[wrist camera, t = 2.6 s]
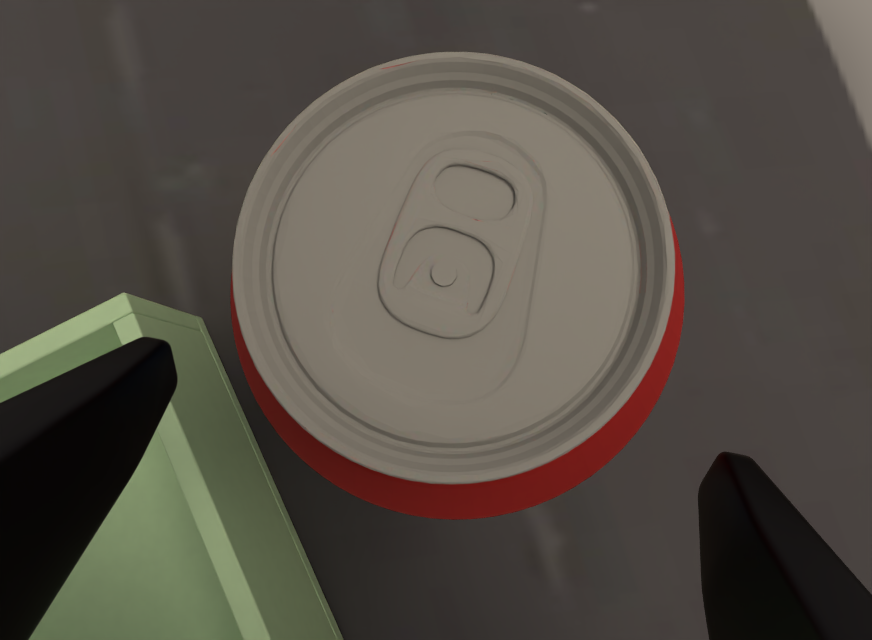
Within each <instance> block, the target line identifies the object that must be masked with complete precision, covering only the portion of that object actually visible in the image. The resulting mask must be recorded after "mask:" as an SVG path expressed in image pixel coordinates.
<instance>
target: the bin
mask: <svg viewBox="0 0 872 640" xmlns="http://www.w3.org/2000/svg"><path fill="white" fill-rule="evenodd" d="M140 337H152V338H157V339H162V340H165V341H167V342H168V343H169V344H170V346H171V349H172V353H173V358H174V362H175V366H176V371H177V375H178V382H177V387H176V390H175V392H174V394H173V396H172V398H171V400H170V402H169V404H168V406H167V409H166V411H165V413H164V415H163V417H162V419H161V421H160V423H159V425H158V427H157V429H156V431H155V433H154V435H153V437H152V439H151V441H150V443H149V445H148V447H147V449H146V451H145V453H144V455H143V457H142V459H141V461H140V463H139V465H138V467H137V469H136V470H135V472H134V474H133V475H132V477H131V479H130V480H129V482H128V483H127V485H126V487H125V488H124V490H123V491H122V493H121V494H120V496H119V498H118V499H117V501H116V502H115V504H114V506H113V507H112V509H111V510H110V512H109V513H108V515H107V517H106V518H105V520H104V521H103V523H102V525H101V526H100V528H99V529H98V531H97V532H96V534H95V536H94V537H93V539H92V540H91V542H90V543H89V545H88V547H87V548H86V550H85V551H84V553H83V555H82V556H81V558H80V559H79V561H78V562H77V564H76V566H75V567H74V569H73V570H72V572H71V573H70V575H69V577H68V578H67V580H66V581H65V583H64V585H63V586H62V588H61V589H60V591H59V592H58V594H57V596H56V597H55V599H54V600H53V602H52V604H51V605H50V607H49V608H48V610H47V611H46V613H45V615H44V616H43V618H42V619H41V621H40V622H39V624H38V626H37V627H36V629H35V630H34V632H33V634H32V635H31V637H30V638H29V640H343V637H342V635H341V633H340V630H339V628H338V626H337V624H336V621H335V619H334V617H333V615H332V612H331V610H330V608H329V605H328V603H327V601H326V599H325V596H324V594H323V592H322V590H321V587H320V585H319V583H318V580H317V578H316V576H315V574H314V571H313V569H312V567H311V565H310V562H309V560H308V558H307V556H306V553H305V551H304V549H303V546H302V544H301V542H300V540H299V537H298V535H297V533H296V531H295V528H294V526H293V524H292V521H291V519H290V517H289V515H288V512H287V510H286V508H285V506H284V503H283V501H282V499H281V496H280V494H279V492H278V490H277V487H276V485H275V483H274V481H273V478H272V476H271V474H270V471H269V469H268V467H267V465H266V462H265V460H264V458H263V456H262V453H261V451H260V449H259V446H258V444H257V442H256V440H255V437H254V435H253V433H252V431H251V428H250V426H249V424H248V422H247V419H246V417H245V415H244V412H243V410H242V408H241V406H240V403H239V401H238V399H237V397H236V394H235V392H234V390H233V387H232V385H231V383H230V381H229V378H228V376H227V374H226V372H225V369H224V367H223V365H222V362H221V360H220V358H219V356H218V353H217V351H216V349H215V347H214V344H213V342H212V340H211V337H210V335H209V333H208V331H207V328H206V326H205V324H204V322H203V319H202V318H201V317H198V316H194V315H191V314H188V313H185V312H182V311H179V310H176V309H173V308H170V307H167V306H164V305H161V304H158V303H154V302H151V301H148V300H145V299H142V298H139V297H136V296H133V295H130V294H127V293H122V294H120V295H118V296H116V297H114V298H112V299H110V300H108V301H106V302H104V303H102V304H100V305H98V306H96V307H94V308H92V309H90V310H88V311H86V312H84V313H82V314H80V315H78V316H76V317H74V318H72V319H70V320H68V321H66V322H64V323H62V324H60V325H58V326H56V327H54V328H52V329H50V330H48V331H46V332H44V333H42V334H40V335H38V336H36V337H34V338H32V339H30V340H28V341H26V342H24V343H22V344H20V345H18V346H16V347H14V348H12V349H10V350H8V351H6V352H4V353H2V354H0V403H1V402H3V401H5V400H8V399H10V398H12V397H14V396H16V395H18V394H20V393H23V392H25V391H27V390H29V389H31V388H33V387H35V386H37V385H40V384H42V383H44V382H46V381H48V380H50V379H52V378H54V377H57V376H59V375H61V374H63V373H65V372H67V371H69V370H72V369H74V368H76V367H78V366H80V365H82V364H84V363H86V362H89V361H91V360H93V359H95V358H97V357H99V356H101V355H104V354H106V353H108V352H110V351H112V350H114V349H116V348H118V347H121V346H123V345H125V344H127V343H129V342H131V341H133V340H136V339H138V338H140Z"/></svg>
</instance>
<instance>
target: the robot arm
mask: <svg viewBox="0 0 872 640" xmlns="http://www.w3.org/2000/svg"><path fill="white" fill-rule="evenodd" d="M177 382H178V375H177V371H176V366H175V362H174V358H173V353H172V349H171V346H170V344H169V343H168V342H167V341H165V340H162V339H157V338H152V337H140V338H138V339H136V340H133V341H131V342H129V343H127V344H125V345H123V346H121V347H118V348H116V349H114V350H112V351H110V352H108V353H106V354H104V355H101V356H99V357H97V358H95V359H93V360H91V361H89V362H86V363H84V364H82V365H80V366H78V367H76V368H74V369H72V370H69V371H67V372H65V373H63V374H61V375H59V376H57V377H54V378H52V379H50V380H48V381H46V382H44V383H42V384H40V385H37V386H35V387H33V388H31V389H29V390H27V391H25V392H23V393H20V394H18V395H16V396H14V397H12V398H10V399H8V400H5V401H3V402H1V403H0V640H29V638H30V637H31V635H32V634H33V632H34V630H35V629H36V627H37V626H38V624H39V622H40V621H41V619H42V618H43V616H44V615H45V613H46V611H47V610H48V608H49V607H50V605H51V604H52V602H53V600H54V599H55V597H56V596H57V594H58V592H59V591H60V589H61V588H62V586H63V585H64V583H65V581H66V580H67V578H68V577H69V575H70V573H71V572H72V570H73V569H74V567H75V566H76V564H77V562H78V561H79V559H80V558H81V556H82V555H83V553H84V551H85V550H86V548H87V547H88V545H89V543H90V542H91V540H92V539H93V537H94V536H95V534H96V532H97V531H98V529H99V528H100V526H101V525H102V523H103V521H104V520H105V518H106V517H107V515H108V513H109V512H110V510H111V509H112V507H113V506H114V504H115V502H116V501H117V499H118V498H119V496H120V494H121V493H122V491H123V490H124V488H125V487H126V485H127V483H128V482H129V480H130V479H131V477H132V475H133V474H134V472H135V470H136V469H137V467H138V465H139V463H140V461H141V459H142V457H143V455H144V453H145V451H146V449H147V447H148V445H149V443H150V441H151V439H152V437H153V435H154V433H155V431H156V429H157V427H158V425H159V423H160V421H161V419H162V417H163V415H164V413H165V411H166V409H167V406H168V404H169V402H170V400H171V398H172V396H173V394H174V392H175V390H176V387H177ZM698 509H699V534H700V560H701V581H702V594H703V601H704V609H705V615H706V622H707V628H708V634H709V640H872V595H871V594H870V592H869V591H868V590H867V589H866V588H865V587H864V586H863V584H862V583H861V582H860V581H859V580H858V579H857V578H856V576H855V575H854V574H853V573H852V572H851V571H850V570H849V568H848V567H847V566H846V565H845V564H844V563H843V562H842V560H841V559H840V558H839V557H838V556H837V555H836V554H835V552H834V551H833V550H832V549H831V548H830V547H829V546H828V544H827V543H826V542H825V541H824V540H823V539H822V538H821V536H820V535H819V534H818V533H817V532H816V531H815V530H814V528H813V527H812V526H811V525H810V524H809V523H808V522H807V520H806V519H805V518H804V517H803V516H802V515H801V514H800V512H799V511H798V510H797V509H796V508H795V507H794V506H793V504H792V503H791V502H790V501H789V500H788V499H787V498H786V496H785V495H784V494H783V493H782V492H781V491H780V490H779V489H778V487H777V486H776V485H775V484H774V483H773V482H772V481H771V479H770V478H769V477H768V476H767V475H766V474H765V473H764V471H763V470H762V469H761V468H760V467H759V466H758V465H757V463H756V462H755V461H754V460H753V459H752V458H750V457H748V456H745V455H740V454H735V453H730V452H722V453H720V454H719V455H718V456H717V457H716V459H715V461H714V462H713V464H712V466H711V467H710V469H709V471H708V472H707V474H706V476H705V477H704V479H703V481H702V482H701V485H700V488H699V493H698Z"/></svg>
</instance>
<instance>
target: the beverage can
mask: <svg viewBox="0 0 872 640" xmlns="http://www.w3.org/2000/svg"><path fill="white" fill-rule="evenodd" d="M230 304H231V317H232V326H233V332H234V338H235V343H236V347H237V351H238V355H239V358H240V362H241V365H242V368H243V371H244V374H245V376H246V379H247V382H248V384H249V386H250V388H251V390H252V393H253V395H254V397H255V399H256V401H257V402H258V404H259V406H260V408H261V409H262V411H263V413H264V415H265V416H266V418H267V419H268V421H269V422H270V423H271V425H272V426H273V428H274V429H275V431H276V432H277V433H278V434H279V435H280V437H281V438H282V439H283V440H284V441H285V443H286V444H287V445H288V446H289V447H290V448H291V449H292V450H293V451H294V452H295V453H296V454H297V455H298V456H299V457H300V458H301V459H302V460H303V461H304V462H305V463H306V464H308V465H309V466H310V467H311V468H312V469H314V470H315V471H316V472H317V473H318V474H320V475H321V476H323V477H324V478H326V479H327V480H329V481H330V482H331V483H333V484H334V485H336V486H338V487H340V488H341V489H343V490H345V491H347V492H348V493H350V494H352V495H354V496H356V497H358V498H361V499H363V500H365V501H367V502H370V503H372V504H375V505H377V506H380V507H383V508H386V509H389V510H392V511H396V512H400V513H405V514H409V515H413V516H420V517H427V518H435V519H452V520H455V519H477V518H485V517H494V516H499V515H503V514H508V513H513V512H517V511H520V510H523V509H526V508H529V507H533V506H536V505H538V504H540V503H543V502H545V501H548V500H550V499H552V498H555V497H557V496H559V495H560V494H562V493H564V492H566V491H568V490H570V489H572V488H574V487H575V486H577V485H578V484H580V483H581V482H583V481H584V480H586V479H587V478H589V477H591V476H592V475H593V474H594V473H596V472H597V471H598V470H599V469H601V468H602V467H603V466H604V465H606V464H607V463H608V462H609V461H610V460H611V459H612V458H613V457H614V456H615V455H616V454H618V453H619V452H620V451H621V450H622V449H623V448H624V446H625V445H626V444H627V443H628V442H629V441H630V440H631V438H632V437H633V436H634V435H635V434H636V433H637V431H638V430H639V428H640V427H641V426H642V424H643V423H644V421H645V420H646V419H647V417H648V416H649V414H650V412H651V411H652V409H653V407H654V406H655V404H656V402H657V401H658V399H659V397H660V395H661V393H662V390H663V388H664V386H665V384H666V382H667V380H668V377H669V374H670V371H671V369H672V366H673V363H674V360H675V356H676V353H677V349H678V345H679V341H680V335H681V329H682V323H683V312H684V276H683V267H682V259H681V254H680V249H679V244H678V240H677V236H676V233H675V229H674V226H673V223H672V220H671V217H670V215H669V212H668V210H667V207H666V204H665V200H664V197H663V195H662V192H661V189H660V187H659V184H658V181H657V179H656V177H655V175H654V173H653V171H652V169H651V168H650V166H649V164H648V162H647V160H646V159H645V157H644V155H643V154H642V152H641V150H640V148H639V147H638V145H637V144H636V143H635V142H634V140H633V139H632V138H631V136H630V135H629V134H628V133H627V131H626V130H625V129H624V128H623V127H622V126H621V124H620V123H619V122H618V121H617V120H616V119H615V118H614V117H613V116H612V115H611V114H610V113H609V112H608V111H607V110H606V109H605V108H603V107H602V106H601V105H600V104H599V103H598V102H596V101H595V100H594V99H593V98H591V97H590V96H589V95H588V94H586V93H585V92H583V91H582V90H580V89H579V88H577V87H575V86H574V85H572V84H571V83H569V82H567V81H565V80H564V79H562V78H560V77H558V76H557V75H555V74H552V73H550V72H548V71H545V70H543V69H541V68H538V67H536V66H533V65H530V64H527V63H524V62H522V61H518V60H514V59H510V58H505V57H501V56H496V55H490V54H484V53H473V52H439V53H429V54H422V55H415V56H410V57H406V58H401V59H397V60H394V61H390V62H387V63H384V64H381V65H378V66H375V67H373V68H370V69H368V70H366V71H363V72H361V73H359V74H357V75H355V76H353V77H351V78H349V79H347V80H345V81H343V82H342V83H340V84H338V85H337V86H335V87H334V88H332V89H330V90H329V91H328V92H326V93H325V94H323V95H322V96H321V97H319V98H318V99H317V100H315V101H314V102H313V103H312V104H310V105H309V106H308V107H307V108H306V109H305V110H304V111H303V112H302V113H301V114H299V115H298V116H297V117H296V118H295V119H294V120H293V121H292V122H291V123H290V124H289V125H288V126H287V128H286V129H285V130H284V131H283V133H282V134H281V135H280V136H279V137H278V139H277V140H276V141H275V143H274V144H273V146H272V147H271V148H270V150H269V151H268V153H267V154H266V155H265V157H264V159H263V161H262V162H261V164H260V166H259V168H258V170H257V172H256V174H255V176H254V178H253V180H252V182H251V184H250V186H249V188H248V191H247V194H246V196H245V199H244V202H243V205H242V209H241V212H240V215H239V219H238V222H237V228H236V234H235V240H234V248H233V257H232V276H231V302H230Z"/></svg>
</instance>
